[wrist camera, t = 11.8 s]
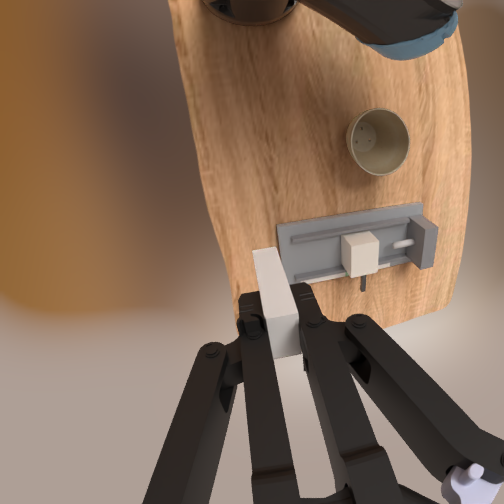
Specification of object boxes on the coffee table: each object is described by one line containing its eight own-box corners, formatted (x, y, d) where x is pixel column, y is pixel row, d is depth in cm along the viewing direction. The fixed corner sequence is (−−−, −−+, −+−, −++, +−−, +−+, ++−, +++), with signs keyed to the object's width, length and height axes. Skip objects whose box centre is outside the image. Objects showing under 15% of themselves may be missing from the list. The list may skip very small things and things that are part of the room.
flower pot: (381, 170, 47) (403, 181, 40) (328, 160, 46) (345, 169, 39) (392, 114, 42) (415, 118, 36) (338, 100, 41) (357, 100, 35)
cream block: (340, 233, 50) (351, 246, 46) (367, 228, 50) (379, 241, 46) (341, 279, 55) (350, 294, 50) (365, 274, 55) (376, 288, 50)
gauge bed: (276, 224, 50) (283, 243, 44) (419, 201, 50) (441, 215, 44) (283, 284, 56) (291, 308, 49) (415, 257, 56) (433, 275, 49)
